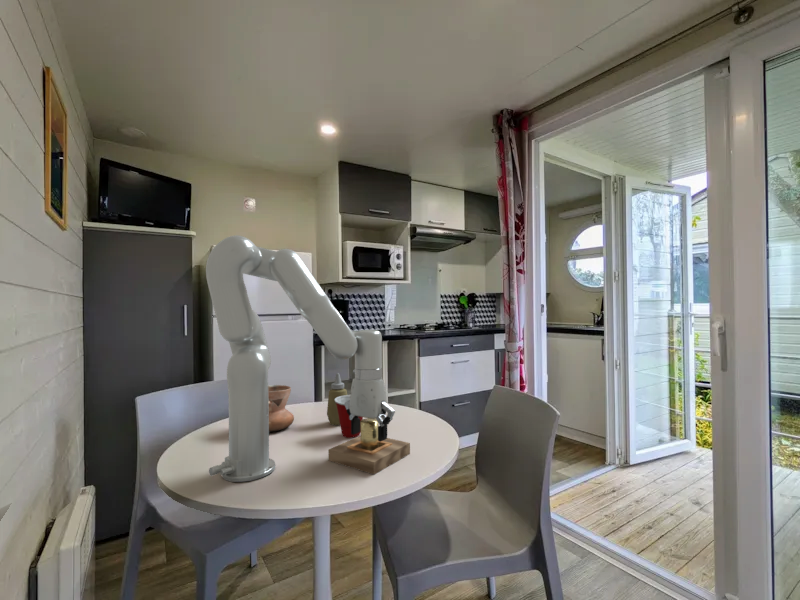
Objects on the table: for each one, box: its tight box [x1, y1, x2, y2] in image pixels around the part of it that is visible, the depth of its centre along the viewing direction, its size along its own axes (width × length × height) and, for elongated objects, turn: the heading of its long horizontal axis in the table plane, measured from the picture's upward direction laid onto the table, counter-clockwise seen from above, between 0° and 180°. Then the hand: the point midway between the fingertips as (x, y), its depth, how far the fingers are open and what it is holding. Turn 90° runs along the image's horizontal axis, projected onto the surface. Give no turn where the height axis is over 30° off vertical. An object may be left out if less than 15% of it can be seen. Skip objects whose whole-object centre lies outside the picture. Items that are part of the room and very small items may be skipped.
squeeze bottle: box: [326, 372, 348, 426], centre depth 135 cm, size 8×8×18 cm
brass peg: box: [360, 418, 379, 451], centre depth 103 cm, size 5×5×10 cm
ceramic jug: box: [268, 384, 295, 433], centre depth 131 cm, size 18×14×14 cm
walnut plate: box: [327, 435, 411, 475], centre depth 103 cm, size 16×16×3 cm
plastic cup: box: [334, 394, 364, 439], centre depth 122 cm, size 11×11×12 cm
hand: (368, 436), depth 103 cm, fingers open, 9 cm apart
